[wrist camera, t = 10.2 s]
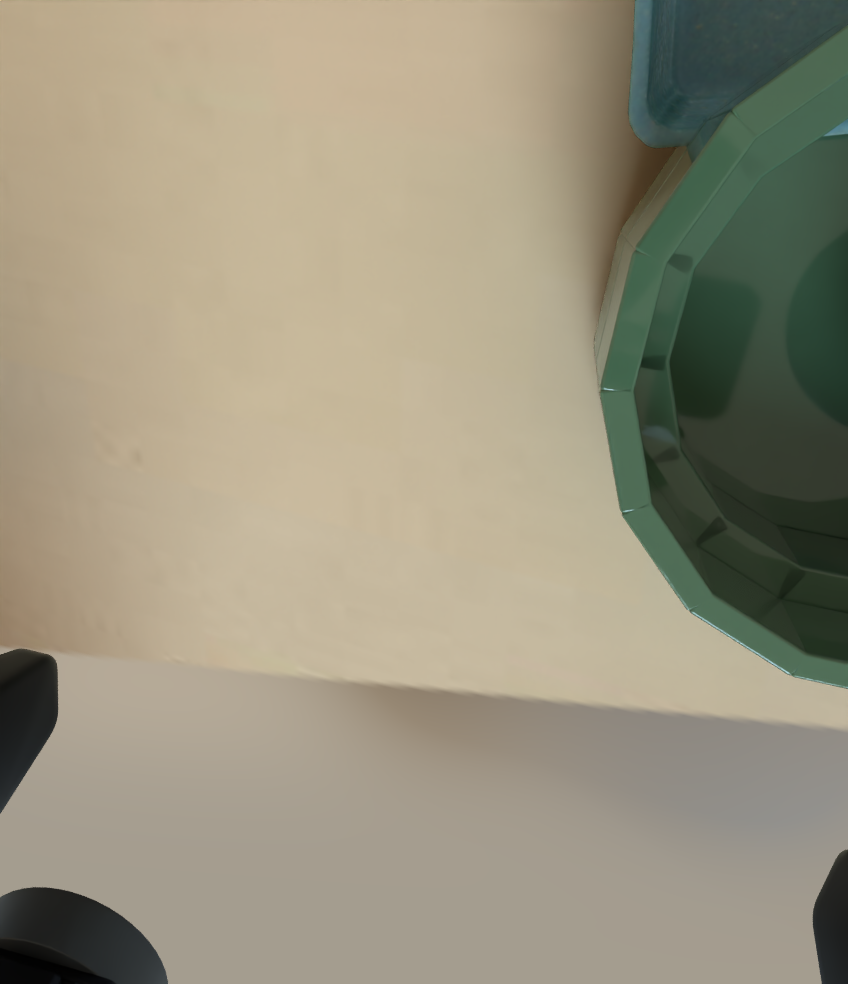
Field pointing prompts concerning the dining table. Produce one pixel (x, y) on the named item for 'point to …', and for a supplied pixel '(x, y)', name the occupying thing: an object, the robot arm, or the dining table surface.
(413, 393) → the dining table surface
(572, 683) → the dining table surface
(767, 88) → the bowl
